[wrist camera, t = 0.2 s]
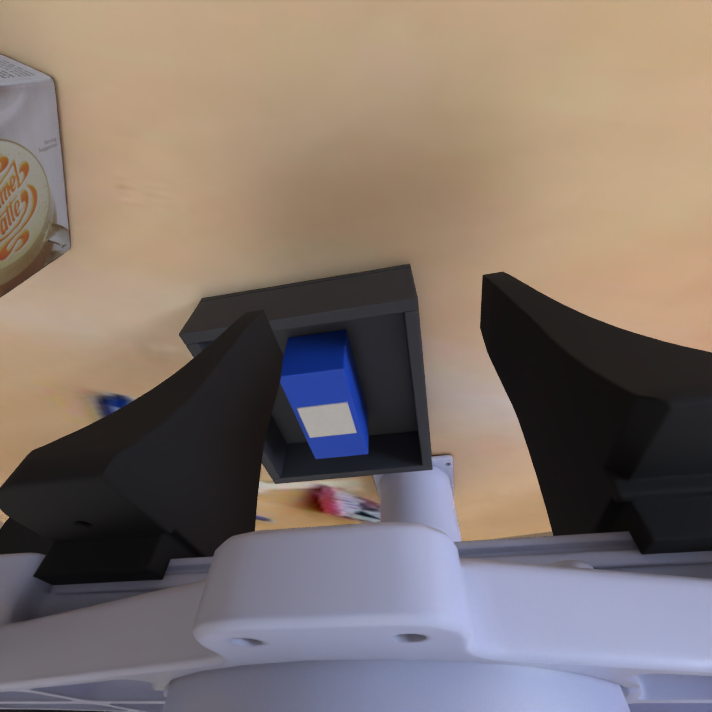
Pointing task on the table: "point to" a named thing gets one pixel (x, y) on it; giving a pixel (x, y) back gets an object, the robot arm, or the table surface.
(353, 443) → the blue box
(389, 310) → the desk bin
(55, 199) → the coffee box
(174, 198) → the table surface
